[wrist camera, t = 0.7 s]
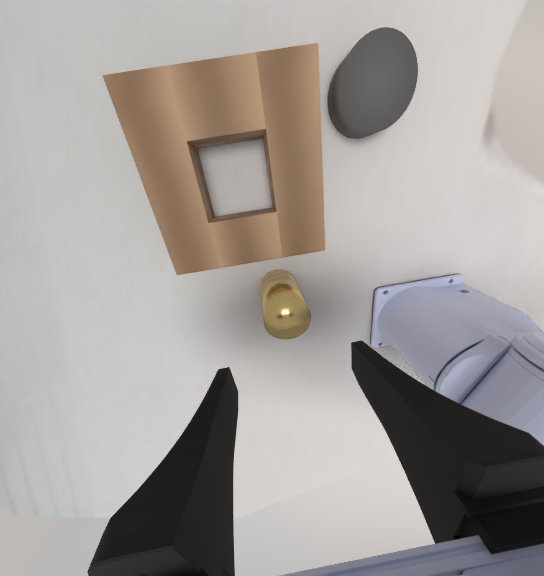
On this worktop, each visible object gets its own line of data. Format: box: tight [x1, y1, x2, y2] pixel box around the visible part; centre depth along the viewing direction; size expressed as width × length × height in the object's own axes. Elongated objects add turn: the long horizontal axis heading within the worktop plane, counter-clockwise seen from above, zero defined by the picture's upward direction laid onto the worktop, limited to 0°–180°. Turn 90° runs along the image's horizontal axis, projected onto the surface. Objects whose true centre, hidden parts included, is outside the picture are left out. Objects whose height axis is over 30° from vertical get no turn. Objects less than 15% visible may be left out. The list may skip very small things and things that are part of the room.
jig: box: [103, 43, 325, 275], centre depth 16 cm, size 12×12×3 cm
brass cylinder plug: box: [260, 270, 311, 339], centre depth 19 cm, size 4×4×6 cm
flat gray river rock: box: [328, 27, 418, 139], centre depth 15 cm, size 5×5×2 cm
